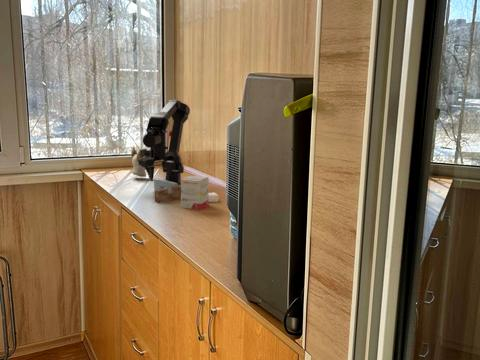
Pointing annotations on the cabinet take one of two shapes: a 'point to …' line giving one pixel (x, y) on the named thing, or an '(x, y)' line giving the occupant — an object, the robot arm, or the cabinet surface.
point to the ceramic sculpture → (137, 163)
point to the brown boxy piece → (167, 194)
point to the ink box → (195, 192)
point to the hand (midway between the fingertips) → (159, 179)
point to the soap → (213, 197)
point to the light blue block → (164, 184)
